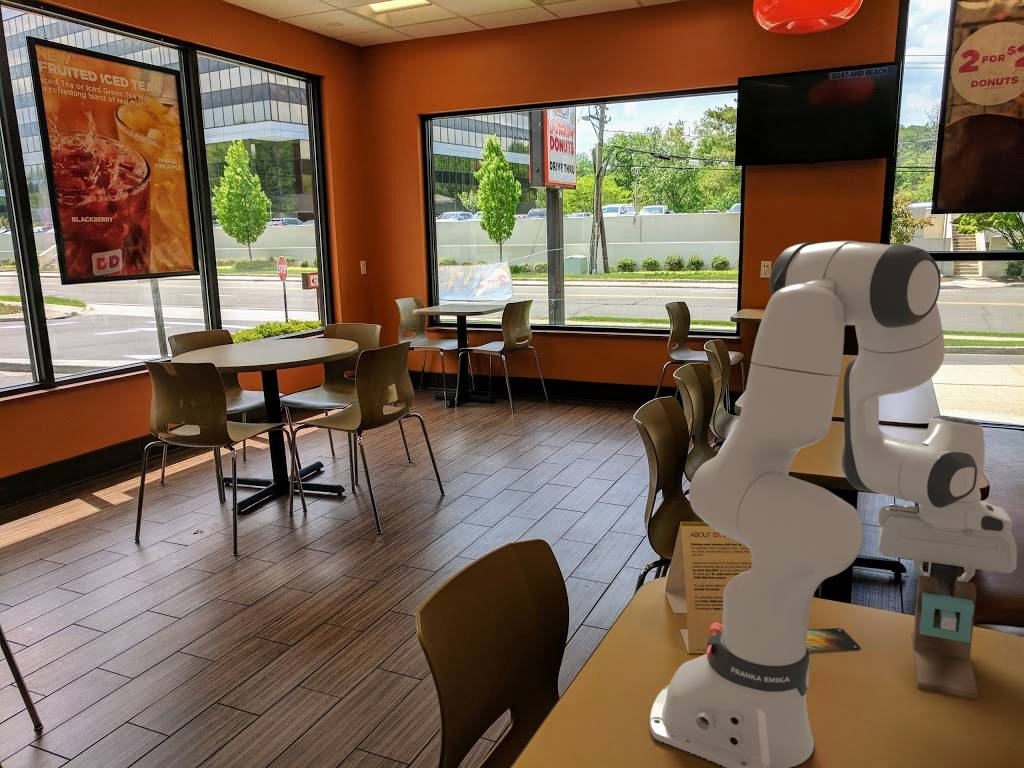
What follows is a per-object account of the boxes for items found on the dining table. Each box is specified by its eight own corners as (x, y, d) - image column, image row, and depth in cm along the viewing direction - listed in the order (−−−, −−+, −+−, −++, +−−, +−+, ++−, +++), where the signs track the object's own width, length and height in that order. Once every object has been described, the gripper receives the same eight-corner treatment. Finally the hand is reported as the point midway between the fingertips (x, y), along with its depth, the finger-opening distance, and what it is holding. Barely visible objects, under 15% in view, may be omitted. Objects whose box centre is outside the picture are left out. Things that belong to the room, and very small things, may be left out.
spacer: (920, 634, 120) (923, 597, 119) (919, 628, 122) (922, 592, 120) (970, 642, 117) (973, 605, 116) (968, 636, 119) (972, 600, 117)
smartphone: (862, 649, 125) (776, 653, 124) (862, 652, 125) (776, 656, 124) (841, 627, 132) (760, 631, 131) (841, 631, 132) (760, 634, 131)
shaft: (933, 633, 116) (936, 592, 115) (926, 594, 129) (929, 557, 128) (962, 638, 115) (966, 596, 113) (952, 598, 127) (956, 560, 126)
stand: (917, 687, 114) (924, 610, 112) (911, 637, 128) (917, 567, 126) (977, 699, 111) (985, 620, 108) (964, 646, 125) (971, 575, 123)
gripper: (879, 508, 125) (874, 583, 128) (1023, 524, 117) (1014, 605, 119) (879, 496, 131) (874, 568, 133) (1016, 511, 122) (1007, 588, 125)
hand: (941, 586), depth 126 cm, fingers closed on shaft, 4 cm apart
